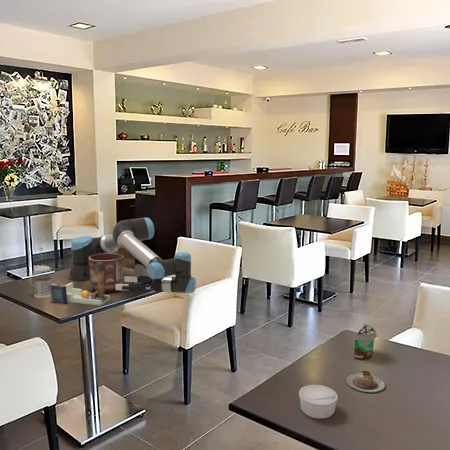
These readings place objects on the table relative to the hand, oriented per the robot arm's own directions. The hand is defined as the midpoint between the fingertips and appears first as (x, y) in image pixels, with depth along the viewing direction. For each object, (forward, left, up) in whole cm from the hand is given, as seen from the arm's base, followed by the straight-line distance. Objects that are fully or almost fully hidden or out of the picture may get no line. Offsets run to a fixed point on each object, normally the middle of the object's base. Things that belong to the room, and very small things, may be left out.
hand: (120, 282), depth 234 cm
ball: (+2, -19, -7) cm, 20 cm away
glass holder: (-33, -3, -10) cm, 35 cm away
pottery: (-17, -17, -10) cm, 26 cm away
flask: (+8, -29, -10) cm, 32 cm away
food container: (+29, +115, -10) cm, 119 cm away
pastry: (+51, +115, -11) cm, 126 cm away
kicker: (+2, -11, -9) cm, 14 cm away
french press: (+1, -44, -10) cm, 45 cm away
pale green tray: (+2, -19, -10) cm, 21 cm away
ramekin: (+71, +101, -10) cm, 124 cm away
